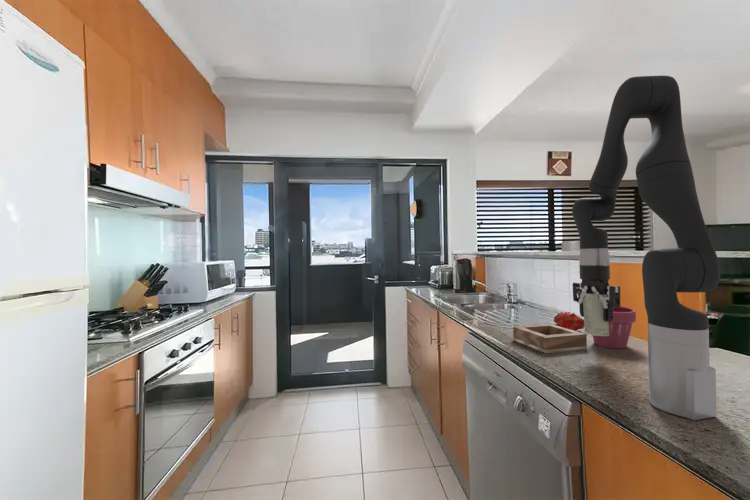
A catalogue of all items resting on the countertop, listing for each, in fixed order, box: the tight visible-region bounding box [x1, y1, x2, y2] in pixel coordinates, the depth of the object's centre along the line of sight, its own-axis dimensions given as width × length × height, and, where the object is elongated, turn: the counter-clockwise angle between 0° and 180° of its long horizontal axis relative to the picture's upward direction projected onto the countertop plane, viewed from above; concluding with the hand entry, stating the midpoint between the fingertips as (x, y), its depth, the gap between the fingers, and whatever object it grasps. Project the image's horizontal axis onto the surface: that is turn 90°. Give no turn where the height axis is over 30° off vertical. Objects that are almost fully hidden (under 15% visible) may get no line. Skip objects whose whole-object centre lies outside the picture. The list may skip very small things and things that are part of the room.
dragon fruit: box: [553, 311, 585, 333], centre depth 129 cm, size 8×8×12 cm
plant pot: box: [592, 305, 637, 349], centre depth 111 cm, size 14×14×13 cm
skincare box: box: [583, 293, 609, 337], centre depth 96 cm, size 6×4×12 cm
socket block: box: [512, 323, 588, 354], centre depth 112 cm, size 16×16×5 cm
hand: (595, 318), depth 96 cm, fingers closed on skincare box, 7 cm apart
